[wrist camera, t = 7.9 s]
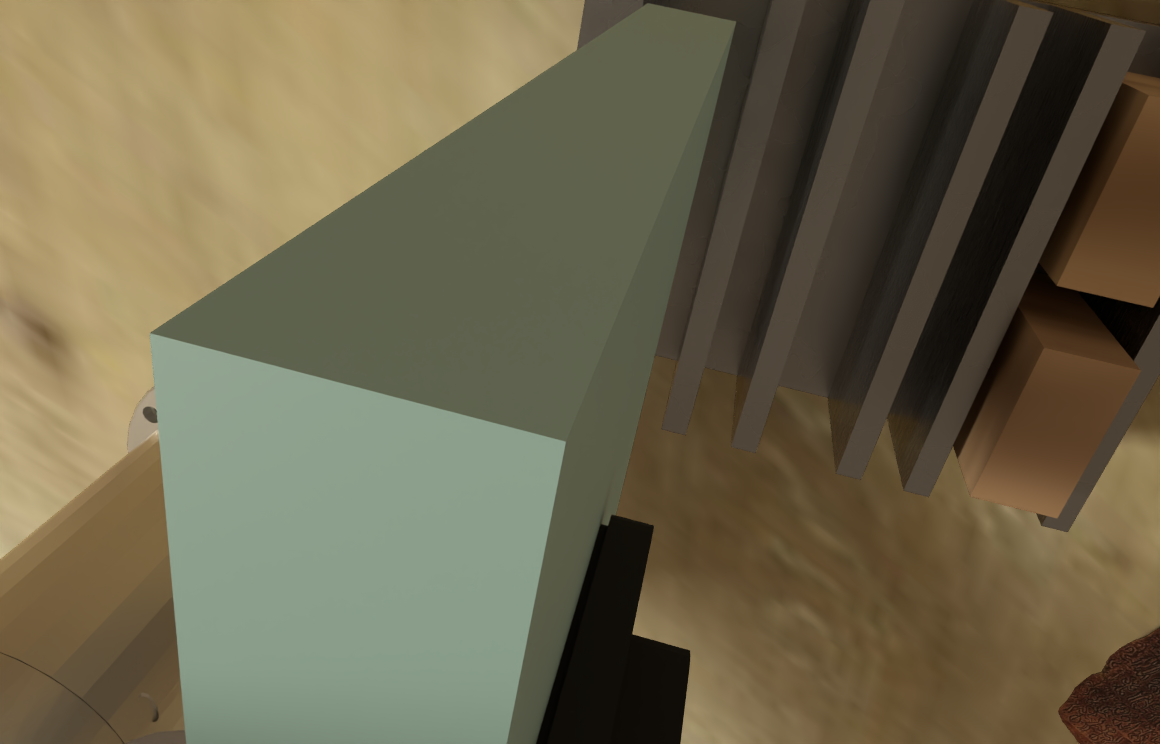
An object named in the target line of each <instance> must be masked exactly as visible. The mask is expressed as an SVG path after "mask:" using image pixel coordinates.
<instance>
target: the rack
mask: <svg viewBox="0 0 1160 744" xmlns="http://www.w3.org/2000/svg"><path fill="white" fill-rule="evenodd" d="M647 3H650V4H655V5H659V6H664V7H669V8H674V9H678V10H683V11H688V12H693V13H698V14H702V15H707V16H712V17H717V18H721V19H726V20H731V21H736V25H735V29H734V33H733V37H732V41H731V45H730V49H729V54H728V58H727V62H726V66H725V70H724V74H723V78H722V82H721V86H720V90H719V95H718V99H717V103H716V107H715V111H714V115H713V119H712V123H711V127H710V131H709V136H708V140H707V144H706V148H705V152H704V156H703V160H702V164H701V168H700V172H699V177H698V181H697V185H696V189H695V193H694V197H693V201H692V205H691V209H690V213H689V218H688V222H687V226H686V230H685V234H684V238H683V242H682V246H681V250H680V254H679V259H678V263H677V267H676V271H675V275H674V279H673V283H672V287H671V291H670V295H669V300H668V304H667V308H666V312H665V316H664V320H663V324H662V328H661V332H660V337H659V341H658V345H657V349H656V353H655V355H657V356H661V357H665V358H669V359H673V360H677V362H676V366H675V371H674V375H673V380H672V384H671V389H670V393H669V398H668V402H667V407H666V411H665V416H664V420H663V425H662V429H663V430H667V431H671V432H674V433H678V434H682V435H686V432H687V428H688V425H689V421H690V418H691V414H692V410H693V407H694V403H695V400H696V396H697V392H698V389H699V385H700V382H701V378H702V374H703V371H704V367H705V368H709V369H713V370H718V371H722V372H726V373H730V374H734V375H737V382H736V394H735V406H734V418H733V430H732V442H731V447H734V448H737V449H741V450H745V451H749V452H753V453H756V450H757V447H758V444H759V441H760V438H761V435H762V432H763V429H764V426H765V423H766V420H767V417H768V414H769V411H770V408H771V405H772V402H773V399H774V396H775V393H776V390H777V387H778V386H783V387H787V388H791V389H795V390H799V391H803V392H807V393H811V394H815V395H819V396H823V397H827V398H828V406H829V415H830V424H831V433H832V442H833V451H834V460H835V469H836V474H840V475H844V476H848V477H852V478H856V479H860V480H861V479H862V476H863V474H864V471H865V469H866V466H867V464H868V462H869V459H870V457H871V454H872V452H873V449H874V447H875V445H876V442H877V440H878V437H879V435H880V432H881V430H882V428H883V425H884V423H885V420H886V418H887V419H888V424H889V428H890V433H891V437H892V442H893V446H894V451H895V455H896V459H897V464H898V468H899V473H900V477H901V482H902V486H903V491H907V492H911V493H915V494H919V495H923V496H927V497H929V496H930V494H931V491H932V489H933V487H934V485H935V483H936V481H937V479H938V476H939V474H940V472H941V470H942V468H943V466H944V464H945V461H946V459H947V457H948V455H949V453H950V451H951V449H952V446H953V444H954V442H955V440H956V438H957V436H958V434H959V431H960V429H961V427H962V425H963V423H964V421H965V419H966V416H967V414H968V412H969V410H970V408H971V406H972V404H973V401H974V399H975V397H976V395H977V393H978V391H979V389H980V386H981V384H982V382H983V380H984V378H985V376H986V374H987V371H988V369H989V367H990V365H991V363H992V361H993V359H994V356H995V354H996V352H997V350H998V348H999V346H1000V344H1001V341H1002V339H1003V337H1004V335H1005V333H1006V331H1007V329H1008V326H1009V324H1010V322H1011V320H1012V318H1013V316H1014V314H1015V311H1016V309H1017V307H1018V305H1019V303H1020V301H1021V299H1022V296H1023V294H1024V292H1025V290H1026V288H1027V286H1028V284H1029V281H1030V279H1031V277H1032V275H1033V273H1034V272H1036V273H1040V274H1044V275H1048V274H1047V273H1046V271H1045V270H1044V269H1043V267H1042V266H1041V265H1040V263H1039V260H1040V258H1041V256H1042V254H1043V251H1044V249H1045V247H1046V245H1047V243H1048V241H1049V239H1050V236H1051V234H1052V232H1053V230H1054V228H1055V226H1056V224H1057V221H1058V219H1059V217H1060V215H1061V213H1062V211H1063V208H1064V206H1065V204H1066V202H1067V200H1068V198H1069V196H1070V193H1071V191H1072V189H1073V187H1074V185H1075V183H1076V181H1077V178H1078V176H1079V174H1080V172H1081V170H1082V168H1083V166H1084V163H1085V161H1086V159H1087V157H1088V155H1089V153H1090V151H1091V148H1092V146H1093V144H1094V142H1095V140H1096V138H1097V136H1098V133H1099V131H1100V129H1101V127H1102V125H1103V123H1104V121H1105V118H1106V116H1107V114H1108V112H1109V110H1110V108H1111V106H1112V103H1113V101H1114V99H1115V97H1116V95H1117V93H1118V91H1119V88H1120V86H1121V84H1122V82H1123V80H1124V78H1125V76H1126V73H1127V72H1131V73H1136V74H1141V75H1146V76H1151V77H1156V78H1160V25H1156V24H1151V23H1146V22H1141V21H1136V20H1131V19H1126V18H1121V17H1116V16H1111V15H1106V14H1101V13H1096V12H1091V11H1086V10H1081V9H1076V8H1071V7H1066V6H1061V5H1056V4H1051V3H1046V2H1041V1H1036V0H585V4H584V10H583V16H582V22H581V29H580V35H579V41H578V47H577V50H578V49H579V48H581V47H582V46H584V45H586V44H587V43H589V42H590V41H592V40H593V39H595V38H596V37H598V36H599V35H601V34H602V33H604V32H605V31H607V30H608V29H610V28H611V27H613V26H614V25H616V24H617V23H619V22H620V21H622V20H623V19H625V18H626V17H628V16H629V15H631V14H632V13H634V12H635V11H637V10H638V9H640V8H641V7H643V6H644V5H646V4H647ZM1076 291H1077V292H1078V293H1079V294H1080V295H1081V297H1082V298H1083V299H1084V300H1085V302H1086V303H1087V304H1088V305H1089V307H1090V308H1091V309H1092V310H1093V312H1094V313H1095V314H1096V315H1097V316H1098V318H1099V319H1100V320H1101V321H1102V323H1103V324H1104V325H1105V326H1106V328H1107V329H1108V330H1109V331H1110V333H1111V334H1112V335H1113V336H1114V338H1115V339H1116V340H1117V341H1118V342H1119V344H1120V345H1121V346H1122V347H1123V349H1124V350H1125V351H1126V352H1127V354H1128V355H1129V356H1130V357H1131V359H1132V360H1133V361H1134V362H1135V363H1136V365H1137V366H1138V367H1139V368H1140V370H1141V372H1140V374H1139V376H1138V377H1137V379H1136V381H1135V383H1134V384H1133V386H1132V388H1131V390H1130V391H1129V393H1128V395H1127V397H1126V398H1125V400H1124V402H1123V404H1122V405H1121V407H1120V409H1119V411H1118V412H1117V414H1116V416H1115V418H1114V420H1113V421H1112V423H1111V425H1110V427H1109V428H1108V430H1107V432H1106V434H1105V435H1104V437H1103V439H1102V441H1101V442H1100V444H1099V446H1098V448H1097V449H1096V451H1095V453H1094V455H1093V456H1092V458H1091V460H1090V462H1089V464H1088V465H1087V467H1086V469H1085V471H1084V472H1083V474H1082V476H1081V478H1080V479H1079V481H1078V483H1077V485H1076V486H1075V488H1074V490H1073V492H1072V493H1071V495H1070V497H1069V499H1068V500H1067V502H1066V504H1065V506H1064V507H1063V509H1062V511H1061V513H1060V515H1059V516H1058V518H1053V517H1049V516H1045V515H1041V514H1038V513H1036V514H1037V516H1038V519H1039V521H1040V523H1041V526H1045V527H1049V528H1053V529H1057V530H1060V531H1064V532H1068V531H1069V529H1070V527H1071V526H1072V524H1073V522H1074V521H1075V519H1076V517H1077V515H1078V514H1079V512H1080V510H1081V509H1082V507H1083V505H1084V503H1085V502H1086V500H1087V498H1088V497H1089V495H1090V493H1091V491H1092V490H1093V488H1094V486H1095V485H1096V483H1097V481H1098V479H1099V478H1100V476H1101V474H1102V473H1103V471H1104V469H1105V467H1106V466H1107V464H1108V462H1109V460H1110V459H1111V457H1112V455H1113V454H1114V452H1115V450H1116V448H1117V447H1118V445H1119V443H1120V442H1121V440H1122V438H1123V436H1124V435H1125V433H1126V431H1127V430H1128V428H1129V426H1130V424H1131V423H1132V421H1133V419H1134V418H1135V416H1136V414H1137V412H1138V411H1139V409H1140V407H1141V406H1142V404H1143V402H1144V400H1145V399H1146V397H1147V395H1148V394H1149V392H1150V390H1151V388H1152V387H1153V385H1154V383H1155V381H1156V380H1157V378H1158V376H1159V375H1160V296H1159V298H1158V300H1157V302H1156V304H1155V305H1154V307H1153V308H1152V307H1148V306H1143V305H1139V304H1135V303H1130V302H1126V301H1121V300H1117V299H1113V298H1108V297H1104V296H1099V295H1095V294H1091V293H1086V292H1082V291H1078V290H1076Z"/></svg>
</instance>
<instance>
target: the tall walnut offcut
mask: <svg viewBox="0 0 1160 744" xmlns="http://www.w3.org/2000/svg"><path fill="white" fill-rule="evenodd" d="M1140 372H1141V370H1140V368H1139V367H1138V366H1137V365H1136V363H1135V362H1134V361H1133V360H1132V359H1131V357H1130V356H1129V355H1128V354H1127V352H1126V351H1125V350H1124V349H1123V347H1122V346H1121V345H1120V344H1119V342H1118V341H1117V340H1116V339H1115V338H1114V336H1113V335H1112V334H1111V333H1110V331H1109V330H1108V329H1107V328H1106V326H1105V325H1104V324H1103V323H1102V321H1101V320H1100V319H1099V318H1098V316H1097V315H1096V314H1095V313H1094V312H1093V310H1092V309H1091V308H1090V307H1089V305H1088V304H1087V303H1086V302H1085V300H1084V299H1083V298H1082V297H1081V295H1080V294H1079V293H1078V292H1077V291H1076V290H1073V289H1069V288H1064V287H1060V286H1056V284H1055V283H1054V282H1053V280H1052V279H1051V278H1050V276H1049V275H1044V274H1040V273H1036V272H1034V273H1033V275H1032V277H1031V279H1030V281H1029V284H1028V286H1027V288H1026V290H1025V292H1024V294H1023V296H1022V299H1021V301H1020V303H1019V305H1018V307H1017V309H1016V311H1015V314H1014V316H1013V318H1012V320H1011V322H1010V324H1009V326H1008V329H1007V331H1006V333H1005V335H1004V337H1003V339H1002V341H1001V344H1000V346H999V348H998V350H997V352H996V354H995V356H994V359H993V361H992V363H991V365H990V367H989V369H988V371H987V374H986V376H985V378H984V380H983V382H982V384H981V386H980V389H979V391H978V393H977V395H976V397H975V399H974V401H973V404H972V406H971V408H970V410H969V412H968V414H967V416H966V419H965V421H964V423H963V425H962V427H961V429H960V431H959V434H958V436H957V438H956V440H955V442H954V444H953V447H954V450H955V453H956V456H957V459H958V462H959V465H960V468H961V471H962V473H963V476H964V479H965V482H966V485H967V488H968V491H969V494H970V497H974V498H978V499H982V500H986V501H990V502H994V503H998V504H1002V505H1006V506H1010V507H1014V508H1018V509H1022V510H1026V511H1030V512H1034V513H1038V514H1041V515H1045V516H1049V517H1053V518H1058V516H1059V515H1060V513H1061V511H1062V509H1063V507H1064V506H1065V504H1066V502H1067V500H1068V499H1069V497H1070V495H1071V493H1072V492H1073V490H1074V488H1075V486H1076V485H1077V483H1078V481H1079V479H1080V478H1081V476H1082V474H1083V472H1084V471H1085V469H1086V467H1087V465H1088V464H1089V462H1090V460H1091V458H1092V456H1093V455H1094V453H1095V451H1096V449H1097V448H1098V446H1099V444H1100V442H1101V441H1102V439H1103V437H1104V435H1105V434H1106V432H1107V430H1108V428H1109V427H1110V425H1111V423H1112V421H1113V420H1114V418H1115V416H1116V414H1117V412H1118V411H1119V409H1120V407H1121V405H1122V404H1123V402H1124V400H1125V398H1126V397H1127V395H1128V393H1129V391H1130V390H1131V388H1132V386H1133V384H1134V383H1135V381H1136V379H1137V377H1138V376H1139V374H1140Z"/></svg>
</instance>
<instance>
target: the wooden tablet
mask: <svg viewBox="0 0 1160 744" xmlns="http://www.w3.org/2000/svg"><path fill="white" fill-rule="evenodd" d="M1059 715H1060V717H1061V719H1062V721H1063V723H1064V724H1065V725H1066V726H1067V728H1068V729H1069V730H1070V732H1071V733H1072V734H1073V735H1074V736H1075V738H1076V740H1077V741H1078V742H1079V743H1080V744H1160V628H1159V629H1157V630H1155V631H1154V632H1152V633H1151V634H1150V635H1148V636H1146V637H1144V638H1141V639H1139V640H1135V641H1133V642H1130V643H1128V644H1126V645H1125V646H1123V647H1121V648H1120V649H1119V650H1118V651H1116V652H1115V653H1114V654H1113V655H1111V656H1110V657H1109V659H1108V660H1107V662H1106V665H1105V666H1104V668H1103V670H1102V672H1099V673H1096V674H1092V675H1091V676H1089V677H1088V678H1086V679H1085V680H1084V681H1083V682H1082V683H1080V684H1079V685H1078V686H1077V687H1075V689H1074V691H1073V692H1072V694H1071V695H1070V697H1069V698H1068V700H1067V701H1066V702H1065V703H1064V704H1063V705H1062V706H1061V707H1060V708H1059Z"/></svg>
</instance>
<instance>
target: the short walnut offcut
mask: <svg viewBox="0 0 1160 744" xmlns="http://www.w3.org/2000/svg"><path fill="white" fill-rule="evenodd" d="M1039 263H1040V265H1041V266H1042V267H1043V269H1044V270H1045V271H1046V273H1047V274H1048V275H1049V276H1050V278H1051V279H1052V280H1053V282H1054V283H1055V284H1056V286H1060V287H1064V288H1069V289H1073V290H1078V291H1082V292H1086V293H1091V294H1095V295H1099V296H1104V297H1108V298H1113V299H1117V300H1121V301H1126V302H1130V303H1135V304H1139V305H1143V306H1148V307H1152V308H1153V307H1154V305H1155V304H1156V302H1157V300H1158V298H1159V296H1160V78H1156V77H1151V76H1146V75H1141V74H1136V73H1131V72H1127V73H1126V76H1125V78H1124V80H1123V82H1122V84H1121V86H1120V88H1119V91H1118V93H1117V95H1116V97H1115V99H1114V101H1113V103H1112V106H1111V108H1110V110H1109V112H1108V114H1107V116H1106V118H1105V121H1104V123H1103V125H1102V127H1101V129H1100V131H1099V133H1098V136H1097V138H1096V140H1095V142H1094V144H1093V146H1092V148H1091V151H1090V153H1089V155H1088V157H1087V159H1086V161H1085V163H1084V166H1083V168H1082V170H1081V172H1080V174H1079V176H1078V178H1077V181H1076V183H1075V185H1074V187H1073V189H1072V191H1071V193H1070V196H1069V198H1068V200H1067V202H1066V204H1065V206H1064V208H1063V211H1062V213H1061V215H1060V217H1059V219H1058V221H1057V224H1056V226H1055V228H1054V230H1053V232H1052V234H1051V236H1050V239H1049V241H1048V243H1047V245H1046V247H1045V249H1044V251H1043V254H1042V256H1041V258H1040V260H1039Z"/></svg>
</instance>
